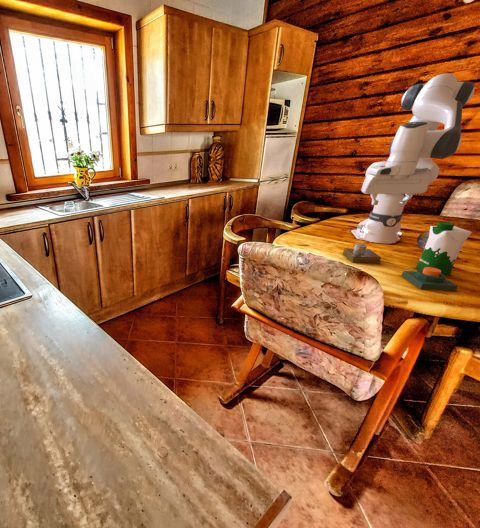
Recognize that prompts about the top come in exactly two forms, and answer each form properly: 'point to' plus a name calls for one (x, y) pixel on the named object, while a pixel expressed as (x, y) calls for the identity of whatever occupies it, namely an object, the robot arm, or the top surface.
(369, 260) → the panel
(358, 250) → the knob
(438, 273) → the button
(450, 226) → the milk carton
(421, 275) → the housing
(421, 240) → the tin
